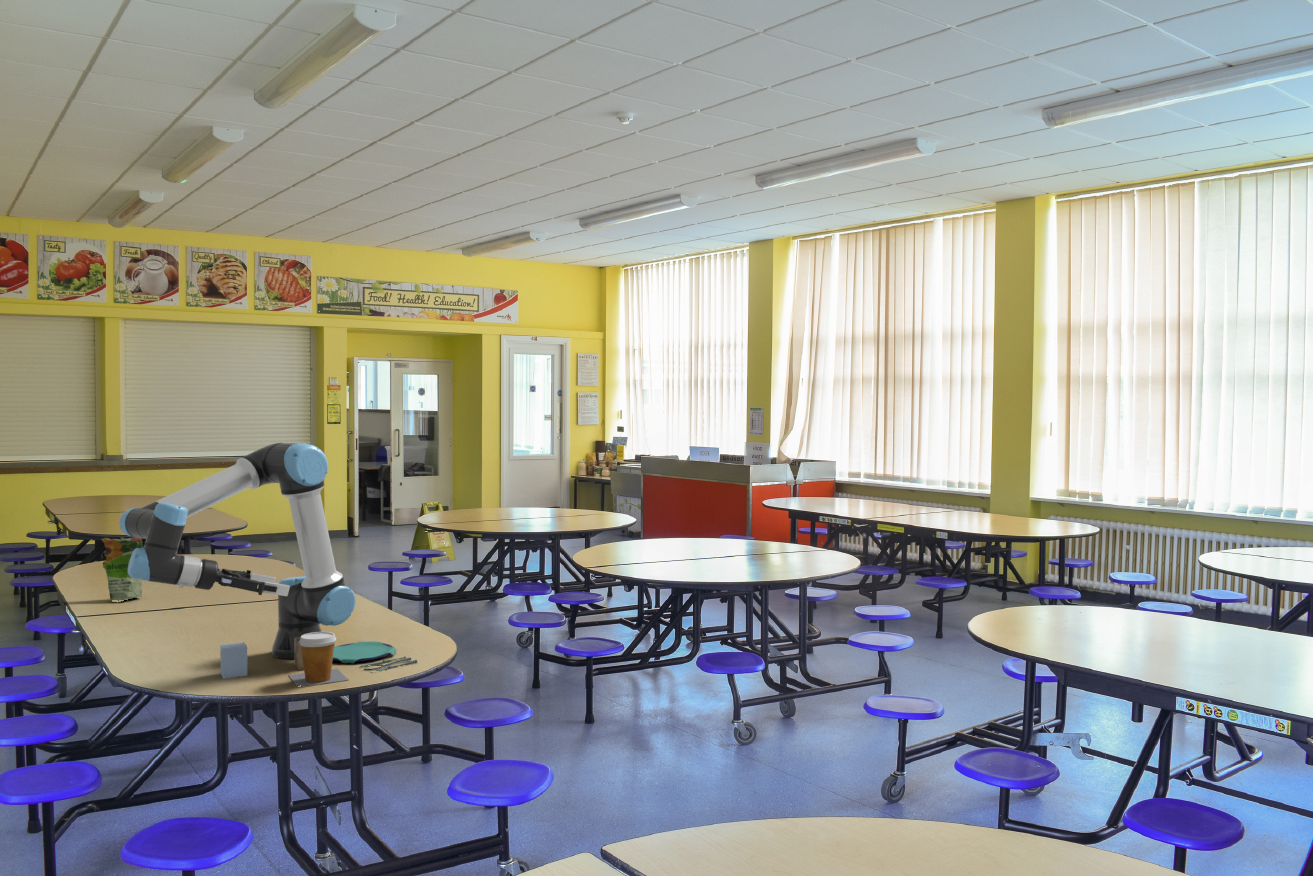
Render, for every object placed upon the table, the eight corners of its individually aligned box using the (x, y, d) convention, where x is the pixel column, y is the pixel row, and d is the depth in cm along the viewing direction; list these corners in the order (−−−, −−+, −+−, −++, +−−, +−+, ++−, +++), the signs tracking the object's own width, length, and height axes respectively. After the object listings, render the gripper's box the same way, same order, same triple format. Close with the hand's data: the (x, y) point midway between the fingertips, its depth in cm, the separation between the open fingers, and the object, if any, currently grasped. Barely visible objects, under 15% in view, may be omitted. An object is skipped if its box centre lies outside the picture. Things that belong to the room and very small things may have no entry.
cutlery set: (374, 644, 287) (374, 637, 286) (424, 664, 265) (424, 656, 265) (312, 656, 273) (312, 648, 272) (360, 678, 251) (360, 670, 251)
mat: (288, 676, 250) (288, 675, 250) (337, 669, 257) (337, 668, 257) (297, 687, 239) (297, 687, 239) (348, 680, 246) (348, 679, 246)
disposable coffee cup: (342, 674, 251) (341, 631, 251) (328, 685, 241) (328, 639, 241) (307, 674, 251) (307, 631, 251) (293, 684, 242) (292, 639, 241)
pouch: (147, 599, 355) (146, 535, 354) (115, 605, 345) (114, 539, 344) (131, 596, 361) (131, 533, 360) (99, 601, 351) (99, 537, 350)
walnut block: (294, 665, 261) (294, 637, 261) (316, 662, 264) (316, 635, 264) (298, 670, 256) (298, 642, 256) (320, 667, 259) (320, 639, 259)
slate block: (220, 673, 253) (220, 644, 253) (244, 670, 256) (243, 642, 256) (223, 678, 248) (223, 649, 248) (247, 675, 251) (247, 646, 251)
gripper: (183, 579, 242) (265, 592, 255) (203, 596, 222) (290, 609, 235) (192, 551, 243) (272, 566, 256) (212, 566, 223) (298, 580, 236)
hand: (281, 586), depth 245 cm, fingers open, 13 cm apart
